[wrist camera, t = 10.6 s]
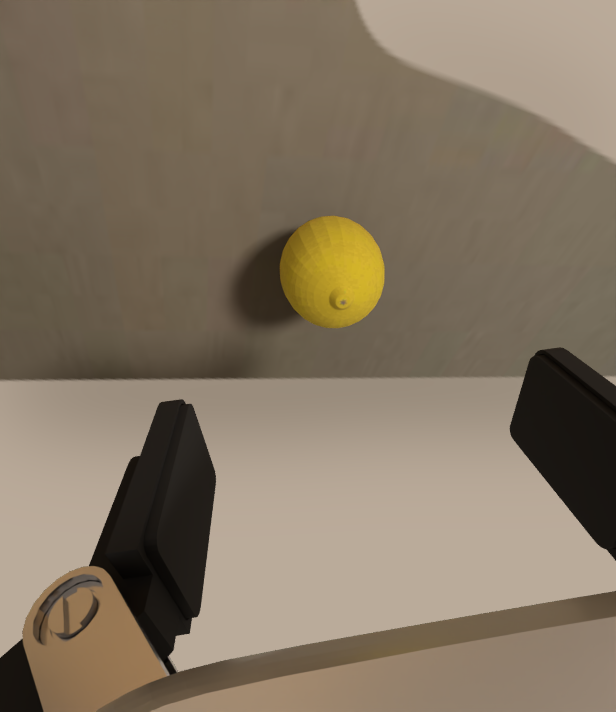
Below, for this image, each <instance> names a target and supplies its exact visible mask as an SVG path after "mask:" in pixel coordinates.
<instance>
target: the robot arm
mask: <svg viewBox="0 0 616 712" xmlns="http://www.w3.org/2000/svg"><path fill="white" fill-rule="evenodd" d="M510 433H511V436H512V438H513V439H514V441H515V442H516V443H517V445H518V446H519V447H520V449H521V450H522V451H523V452H524V454H525V455H526V456H527V457H528V458H529V460H530V461H531V462H532V463H533V465H534V466H535V467H536V468H537V470H538V471H539V472H540V473H541V475H542V476H543V477H544V478H545V480H546V481H547V482H548V483H549V485H550V486H551V487H552V488H553V490H554V491H555V492H556V493H557V495H558V496H559V497H560V498H561V499H562V501H563V502H564V503H565V505H566V506H567V507H568V508H569V510H570V511H571V512H572V513H573V515H574V516H575V517H576V518H577V519H578V521H579V522H580V523H581V524H582V526H583V527H584V528H585V529H586V531H587V532H588V533H589V534H590V536H591V537H592V538H593V539H594V540H595V542H596V543H597V544H598V545H599V546H600V547H602V548H604V549H607V550H608V552H609V553H610V554H611V555H612V556H613V558H614V559H615V560H616V386H615V385H614V384H612V383H611V382H610V381H608V380H607V379H605V378H604V377H603V376H601V375H600V374H599V373H597V372H596V371H595V370H593V369H592V368H591V367H589V366H588V365H586V364H585V363H584V362H582V361H581V360H580V359H578V358H577V357H576V356H574V355H573V354H572V353H570V352H569V351H567V350H566V349H564V348H553V349H545V350H540V351H538V352H537V353H536V354H535V356H534V357H532V358H531V359H530V361H529V364H528V367H527V371H526V374H525V378H524V381H523V385H522V388H521V391H520V394H519V398H518V401H517V404H516V408H515V411H514V415H513V418H512V422H511V425H510ZM215 485H216V475H215V470H214V467H213V464H212V461H211V458H210V455H209V452H208V449H207V446H206V443H205V440H204V437H203V434H202V431H201V429H200V426H199V423H198V420H197V417H196V414H195V411H194V408H193V406H192V404H185V402H184V400H174V401H166V402H161V403H160V404H159V406H158V408H157V410H156V414H155V416H154V419H153V422H152V424H151V427H150V430H149V433H148V435H147V438H146V441H145V444H144V446H143V449H142V452H141V455H140V456H137V457H133V458H132V459H131V460H130V462H129V464H128V466H127V469H126V471H125V474H124V477H123V479H122V482H121V484H120V487H119V489H118V492H117V495H116V497H115V500H114V502H113V505H112V508H111V510H110V513H109V516H108V518H107V520H106V523H105V526H104V528H103V531H102V533H101V536H100V539H99V541H98V544H97V546H96V549H95V552H94V554H93V557H92V560H91V562H90V564H89V566H86V567H81V568H78V569H75V570H72V571H70V572H68V573H67V574H65V575H63V576H62V577H60V578H58V579H57V580H56V581H55V582H53V583H52V584H51V585H50V586H49V587H48V588H47V589H45V590H44V592H43V593H42V594H41V595H40V597H39V598H38V599H37V600H36V601H35V603H34V604H33V606H32V608H31V610H30V612H29V614H28V615H27V617H26V620H25V624H24V628H23V631H22V634H23V639H22V640H21V641H19V642H18V643H17V644H16V645H15V646H13V647H12V648H11V649H10V650H9V651H8V652H7V653H6V654H4V655H3V656H2V657H1V658H0V712H616V591H614V592H608V593H602V594H596V595H590V596H584V597H578V598H572V599H566V600H560V601H554V602H548V603H542V604H536V605H531V606H524V607H519V608H513V609H507V610H501V611H495V612H489V613H483V614H478V615H472V616H466V617H460V618H455V619H449V620H443V621H438V622H431V623H425V624H420V625H414V626H408V627H403V628H397V629H391V630H386V631H380V632H374V633H369V634H363V635H357V636H352V637H346V638H341V639H335V640H329V641H324V642H318V643H312V644H306V645H301V646H296V647H291V648H285V649H281V650H275V651H270V652H266V653H260V654H255V655H250V656H245V657H240V658H235V659H229V660H224V661H220V662H216V663H212V664H208V665H204V666H201V667H196V668H192V669H189V670H185V671H181V672H178V670H177V669H176V667H175V665H174V664H173V662H172V661H171V659H170V657H169V655H170V654H171V653H172V651H173V650H174V643H175V637H176V636H177V635H184V634H189V633H190V628H191V621H192V618H194V617H198V615H199V612H200V608H201V600H202V591H203V584H204V575H205V567H206V559H207V551H208V543H209V534H210V526H211V518H212V510H213V501H214V494H215Z"/></svg>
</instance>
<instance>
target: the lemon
mask: <svg viewBox="0 0 616 712" xmlns="http://www.w3.org/2000/svg"><path fill="white" fill-rule="evenodd" d="M280 280H281V284H282V287H283V290H284V294H285V296H286V297H287V299H288V301H289V302H290V304H291V305H292V307H293V308H294V310H295V311H297V312H298V313H299V314H300V315H301V316H302V317H303V318H304V319H306V320H308V321H309V322H311V323H313V324H315V325H318V326H322V327H326V328H340V327H345V326H349V325H352V324H354V323H356V322H358V321H360V320H361V319H363V318H364V317H365V316H367V315H368V314H369V313H370V311H371V310H372V309H373V308H374V307H375V305H376V303H377V302H378V300H379V298H380V296H381V293H382V289H383V285H384V263H383V259H382V255H381V252H380V249H379V247H378V246H377V244H376V242H375V241H374V239H373V237H372V236H371V235H370V234H369V233H368V232H367V231H366V230H365V229H364V228H363V227H362V226H361V225H359V224H357V223H355V222H353V221H351V220H349V219H347V218H343V217H337V216H324V217H319V218H316V219H313V220H310V221H308V222H306V223H305V224H303V225H302V226H300V227H299V228H298V229H297V230H296V231H295V232H294V233H293V234H292V236H291V237H290V238H289V240H288V242H287V244H286V245H285V247H284V249H283V253H282V257H281V261H280Z"/></svg>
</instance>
